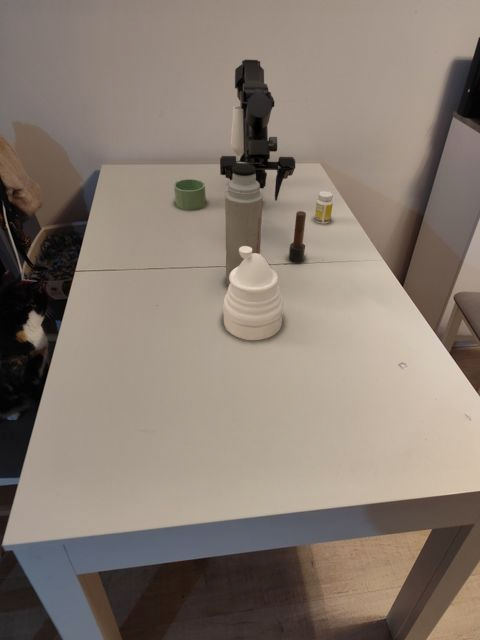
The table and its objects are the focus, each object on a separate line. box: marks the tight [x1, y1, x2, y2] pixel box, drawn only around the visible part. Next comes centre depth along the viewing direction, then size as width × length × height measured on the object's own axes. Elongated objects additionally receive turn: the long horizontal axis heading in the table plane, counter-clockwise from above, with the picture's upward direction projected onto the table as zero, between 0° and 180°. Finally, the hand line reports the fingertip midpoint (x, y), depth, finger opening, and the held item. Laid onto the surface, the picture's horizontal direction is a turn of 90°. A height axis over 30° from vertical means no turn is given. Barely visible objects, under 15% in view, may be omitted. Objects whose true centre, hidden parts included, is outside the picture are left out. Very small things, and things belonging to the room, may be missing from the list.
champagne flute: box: [230, 105, 244, 161], centre depth 146 cm, size 7×7×24 cm
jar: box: [173, 178, 207, 211], centre depth 139 cm, size 9×9×6 cm
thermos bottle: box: [224, 164, 264, 288], centre depth 100 cm, size 8×8×28 cm
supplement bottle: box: [314, 190, 334, 225], centre depth 134 cm, size 5×5×8 cm
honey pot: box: [222, 246, 284, 341], centre depth 92 cm, size 13×13×18 cm
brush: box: [288, 210, 307, 264], centre depth 114 cm, size 4×4×13 cm
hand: (258, 200), depth 113 cm, fingers open, 9 cm apart
